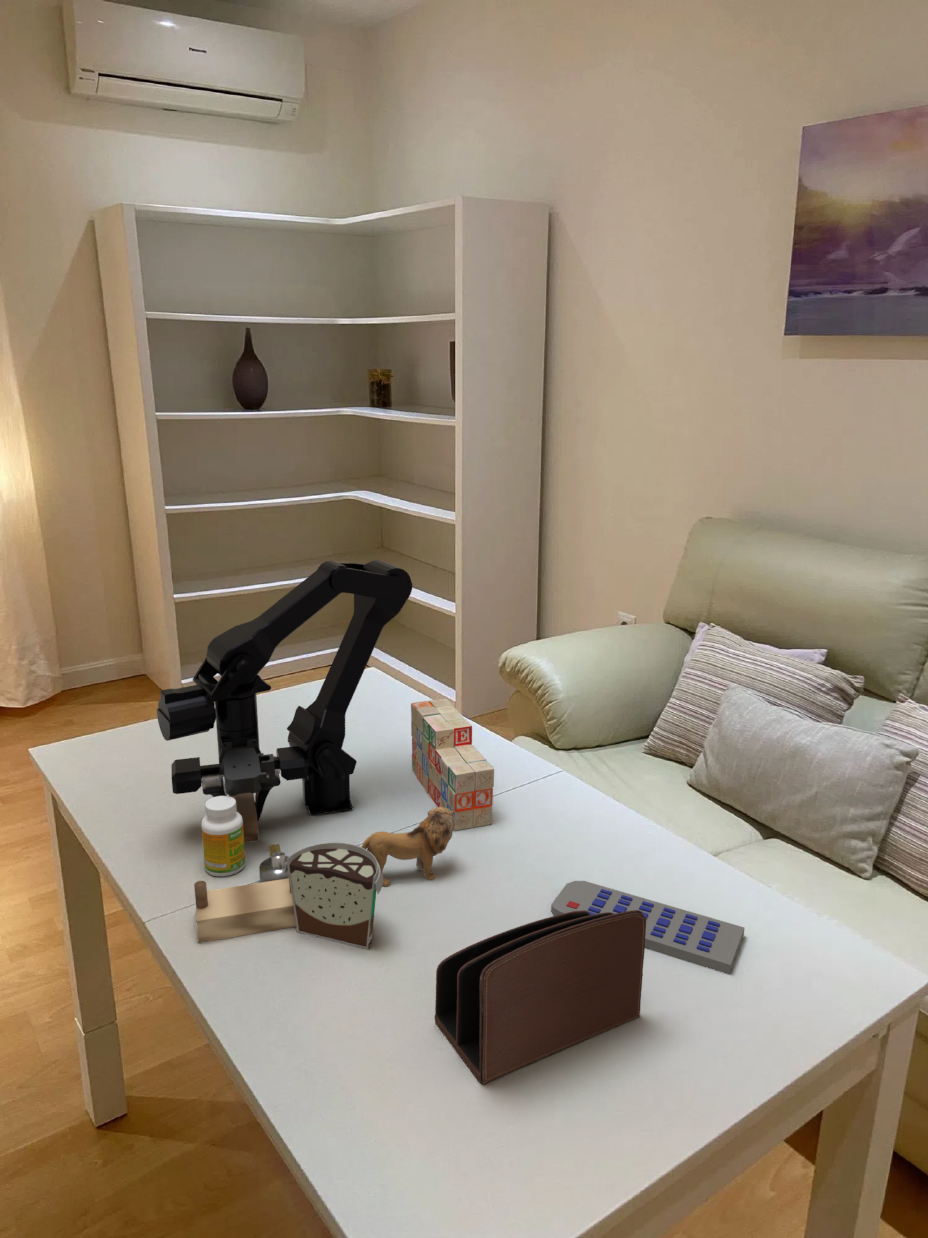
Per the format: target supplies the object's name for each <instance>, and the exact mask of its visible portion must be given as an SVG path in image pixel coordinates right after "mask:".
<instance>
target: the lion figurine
mask: <svg viewBox="0 0 928 1238" xmlns="http://www.w3.org/2000/svg"><path fill="white" fill-rule="evenodd" d="M454 826H455V822H454V820H453V811H450V810H449V809H447V808H444V807H438V806H437V807H435V808H431V810H428V811H427V816H426V818H424V819H423V820H422V821H420V823H419V824H418V826H416V827H415V828H414V829H413V830H412V831H409V832H402V833H401V832H400V833H393V832H389V831H377V832H374V833H371V835H369V836H368V837H366V839H365V840H364V842H363V843H362V845H361V847H362V848H364V849H366V850H368V851H369V852H370V853H372V854H373V856H374V857H375V858H376V860H377V862H378V864H379V866H380V870H381V874H382V878H383V885H382V887H389V886H390V885H391V880H390V879H389V878H385V877H384V876H383V874H384V873H383V870H384V868H385V865H386V863H387V860H388V856H391V857H392V858H394V859H397V860H400V861H407V860H409V861H410V860H413V859H416V863H415V865H416V868H417V869H418V870H419V871H423V875H424V877H425V879H427V880H429V881H433V880H435V878H436V875H435V874H434V872H431V871H432V868H433V863H434V862H433V861H434V857H435V856H437V855H439V854H442V853H443V852H444V851H445V850H446V848H447V846H448V845H449V842H450V840H451V839H452V838H453V833H454Z"/></svg>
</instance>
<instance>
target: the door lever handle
mask: <svg viewBox="0 0 928 1238" xmlns="http://www.w3.org/2000/svg"><path fill="white" fill-rule="evenodd" d="M280 845H281V844H280V843H277V844H276V843H275V844H269V845H268V853H269V857H268V858H266V859H265V860H263V861H262V862H261V863H260V865H259V869H258V871H259V883H262V882H268V881H275V880H281V879H288V878H289V873H288V871H287V872H286V873H284V868H285V863H286V862H287V858H288V857H290V856H289V855H286V853H285V852H284V851H281V846H280Z"/></svg>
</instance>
